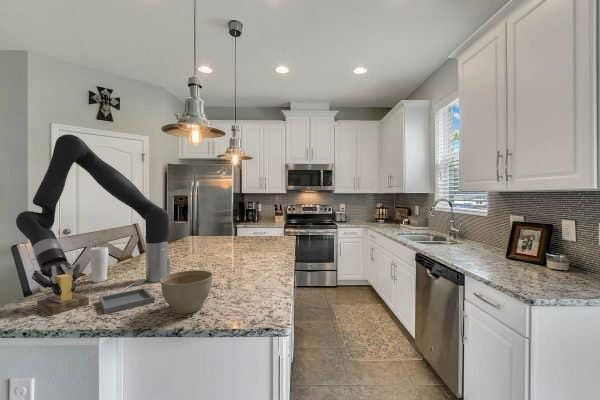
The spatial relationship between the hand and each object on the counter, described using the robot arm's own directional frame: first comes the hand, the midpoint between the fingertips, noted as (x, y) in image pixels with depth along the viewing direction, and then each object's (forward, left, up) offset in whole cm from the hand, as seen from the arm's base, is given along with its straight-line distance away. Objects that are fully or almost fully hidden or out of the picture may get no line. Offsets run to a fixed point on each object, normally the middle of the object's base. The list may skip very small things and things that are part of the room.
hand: (66, 292), depth 94 cm
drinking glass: (-12, -30, -5) cm, 33 cm away
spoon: (-19, -8, -6) cm, 22 cm away
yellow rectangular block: (+1, -2, -4) cm, 5 cm away
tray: (-16, +9, -5) cm, 19 cm away
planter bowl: (-30, +30, -5) cm, 43 cm away
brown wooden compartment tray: (+1, -2, -5) cm, 5 cm away
